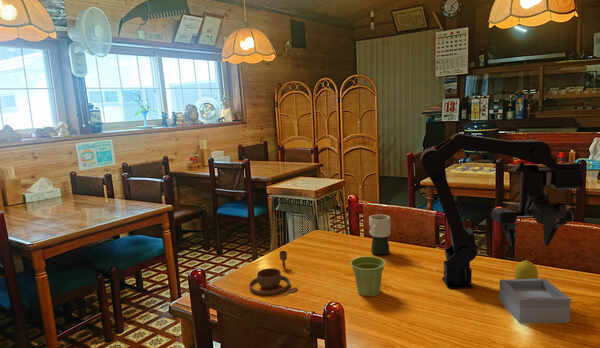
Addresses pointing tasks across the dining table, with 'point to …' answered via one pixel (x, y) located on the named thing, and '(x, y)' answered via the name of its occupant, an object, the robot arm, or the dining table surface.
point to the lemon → (526, 270)
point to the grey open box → (534, 301)
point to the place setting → (272, 279)
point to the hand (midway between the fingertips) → (529, 246)
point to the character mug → (379, 233)
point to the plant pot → (368, 274)
